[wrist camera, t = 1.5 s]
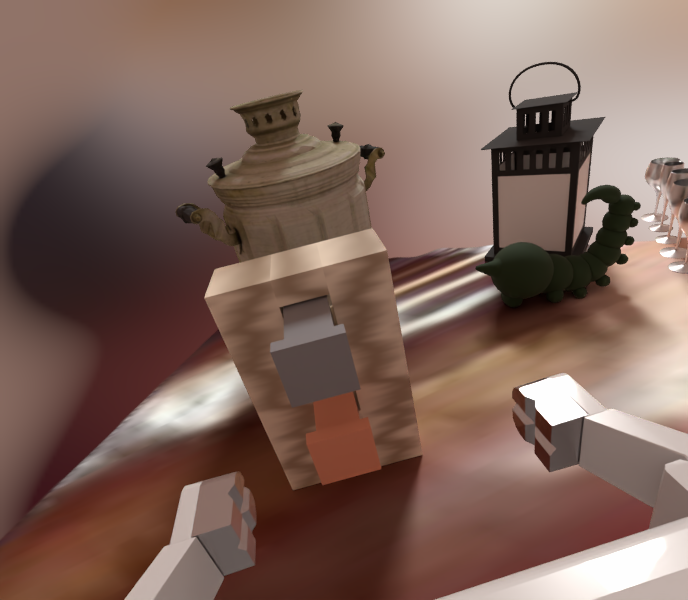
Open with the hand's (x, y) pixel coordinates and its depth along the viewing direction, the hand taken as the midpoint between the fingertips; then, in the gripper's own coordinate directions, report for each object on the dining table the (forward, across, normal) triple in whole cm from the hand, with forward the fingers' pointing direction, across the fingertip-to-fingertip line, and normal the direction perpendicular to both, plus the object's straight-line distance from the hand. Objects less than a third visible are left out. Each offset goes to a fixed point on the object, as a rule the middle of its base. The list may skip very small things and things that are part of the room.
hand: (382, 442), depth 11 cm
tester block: (+27, -2, -31) cm, 41 cm away
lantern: (+64, +48, -30) cm, 85 cm away
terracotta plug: (+21, -2, -22) cm, 30 cm away
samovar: (+50, -1, -30) cm, 58 cm away
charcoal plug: (+21, -2, -12) cm, 24 cm away
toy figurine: (+46, +38, -30) cm, 67 cm away
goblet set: (+53, +67, -30) cm, 91 cm away
